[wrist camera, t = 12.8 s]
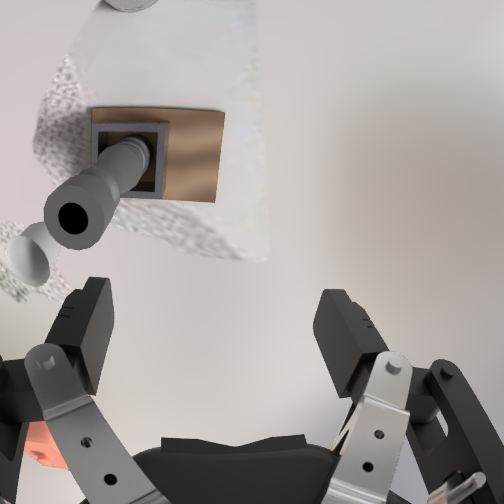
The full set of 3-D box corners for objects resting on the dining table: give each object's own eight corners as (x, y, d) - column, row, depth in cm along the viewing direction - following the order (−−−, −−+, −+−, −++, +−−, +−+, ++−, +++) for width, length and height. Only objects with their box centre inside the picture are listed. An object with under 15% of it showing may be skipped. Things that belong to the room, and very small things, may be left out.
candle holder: (106, 155, 44) (29, 221, 22) (132, 125, 43) (65, 165, 21) (135, 181, 47) (82, 266, 25) (162, 152, 45) (123, 216, 24)
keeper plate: (95, 108, 42) (92, 108, 40) (224, 112, 45) (225, 113, 44) (94, 193, 48) (91, 196, 47) (214, 199, 52) (215, 202, 50)
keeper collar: (102, 120, 41) (91, 124, 37) (170, 121, 43) (166, 125, 39) (101, 186, 46) (92, 196, 42) (165, 188, 48) (161, 199, 44)
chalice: (98, 219, 50) (59, 277, 35) (68, 233, 51) (25, 292, 35) (79, 181, 47) (29, 227, 31) (49, 197, 47) (-4, 247, 31)
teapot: (107, 442, 84) (102, 488, 68) (53, 438, 82) (44, 480, 67) (71, 398, 72) (58, 452, 56) (14, 395, 70) (-2, 442, 55)
